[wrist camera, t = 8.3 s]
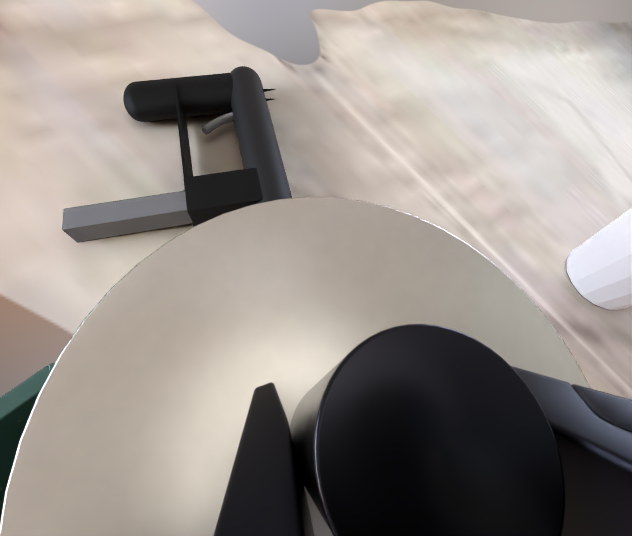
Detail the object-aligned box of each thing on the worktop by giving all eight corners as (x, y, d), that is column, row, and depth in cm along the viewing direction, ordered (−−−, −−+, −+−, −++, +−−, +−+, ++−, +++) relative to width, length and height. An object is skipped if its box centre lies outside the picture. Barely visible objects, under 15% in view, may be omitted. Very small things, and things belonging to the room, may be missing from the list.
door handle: (45, 312, 18) (329, 257, 20) (67, 73, 26) (269, 55, 28) (81, 327, 21) (324, 278, 23) (90, 109, 29) (271, 90, 31)
